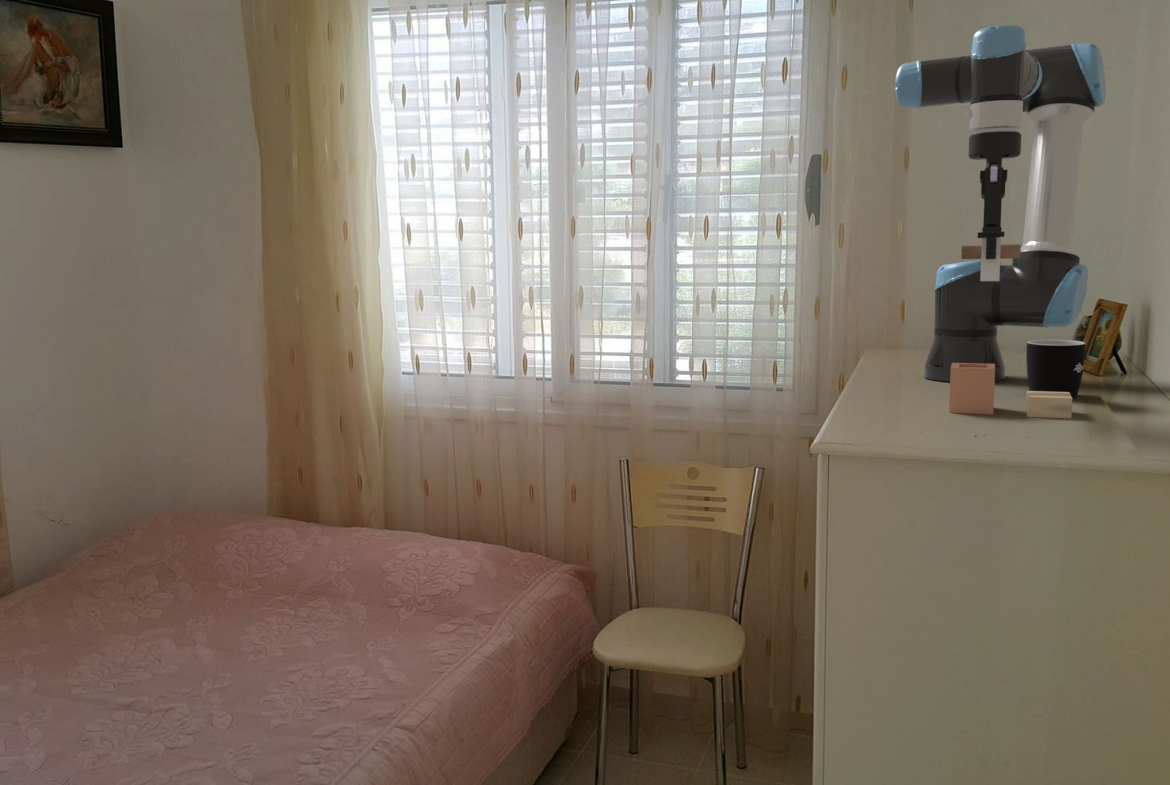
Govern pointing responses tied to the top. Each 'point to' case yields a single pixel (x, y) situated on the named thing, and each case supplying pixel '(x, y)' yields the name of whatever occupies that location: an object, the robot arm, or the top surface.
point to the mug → (1055, 365)
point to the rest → (1049, 404)
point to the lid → (1005, 251)
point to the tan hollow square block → (972, 388)
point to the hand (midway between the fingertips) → (989, 279)
